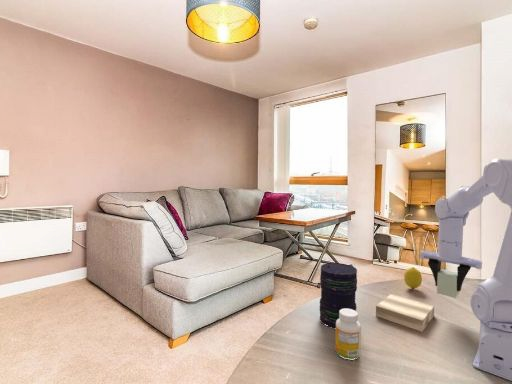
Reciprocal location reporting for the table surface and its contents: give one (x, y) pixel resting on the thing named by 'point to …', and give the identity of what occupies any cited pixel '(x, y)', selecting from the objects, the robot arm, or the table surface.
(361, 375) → the table surface
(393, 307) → the birch plinth
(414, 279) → the lemon
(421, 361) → the table surface
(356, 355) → the supplement bottle
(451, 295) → the sage block
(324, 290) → the storage jar
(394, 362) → the table surface
